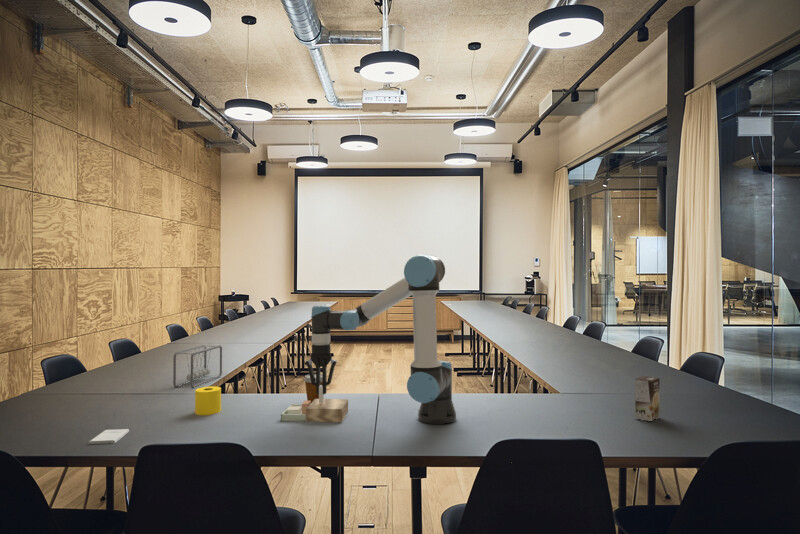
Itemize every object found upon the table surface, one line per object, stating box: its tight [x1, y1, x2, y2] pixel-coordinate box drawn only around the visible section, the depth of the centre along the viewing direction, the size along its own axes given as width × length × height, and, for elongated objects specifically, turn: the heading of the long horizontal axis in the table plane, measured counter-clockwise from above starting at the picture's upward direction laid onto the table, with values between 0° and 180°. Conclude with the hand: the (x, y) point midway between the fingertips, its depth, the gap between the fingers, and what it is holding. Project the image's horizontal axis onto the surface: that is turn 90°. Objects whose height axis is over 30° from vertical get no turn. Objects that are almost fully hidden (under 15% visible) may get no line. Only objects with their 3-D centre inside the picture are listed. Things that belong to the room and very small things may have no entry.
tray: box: [280, 403, 307, 422], centre depth 201 cm, size 10×15×2 cm, turn 177°
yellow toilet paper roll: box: [194, 386, 222, 416], centre depth 206 cm, size 10×10×9 cm
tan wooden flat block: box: [305, 398, 349, 423], centre depth 200 cm, size 14×15×5 cm
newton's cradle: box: [172, 344, 223, 389], centre depth 262 cm, size 30×10×18 cm, turn 172°
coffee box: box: [634, 375, 661, 421], centre depth 198 cm, size 9×6×16 cm
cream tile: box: [286, 405, 302, 414], centre depth 201 cm, size 5×5×2 cm
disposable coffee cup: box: [303, 373, 322, 403], centre depth 220 cm, size 10×10×12 cm
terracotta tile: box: [301, 400, 311, 415], centre depth 200 cm, size 5×5×2 cm
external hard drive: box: [88, 428, 130, 445], centre depth 173 cm, size 2×8×12 cm
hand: (321, 402), depth 200 cm, fingers closed
